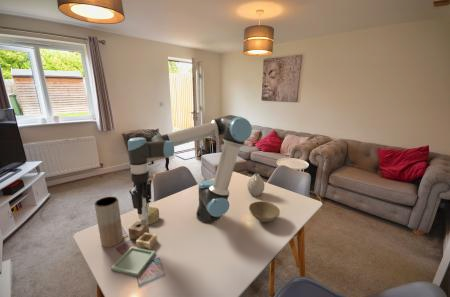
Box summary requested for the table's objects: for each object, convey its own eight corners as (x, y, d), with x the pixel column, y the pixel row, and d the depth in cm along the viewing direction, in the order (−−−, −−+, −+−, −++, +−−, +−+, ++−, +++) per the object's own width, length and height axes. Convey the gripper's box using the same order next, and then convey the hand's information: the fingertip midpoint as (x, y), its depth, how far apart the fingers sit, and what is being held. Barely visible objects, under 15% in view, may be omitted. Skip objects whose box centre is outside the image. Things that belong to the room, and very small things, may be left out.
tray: (155, 253, 96) (155, 251, 95) (137, 276, 83) (137, 273, 83) (131, 248, 99) (131, 246, 98) (111, 270, 86) (110, 267, 86)
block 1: (149, 232, 111) (148, 222, 109) (141, 240, 104) (140, 230, 103) (138, 230, 112) (137, 220, 111) (129, 238, 106) (128, 228, 104)
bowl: (284, 220, 123) (285, 208, 121) (268, 234, 110) (269, 221, 108) (259, 208, 135) (259, 197, 133) (242, 220, 122) (242, 208, 120)
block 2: (157, 241, 104) (156, 234, 103) (149, 250, 98) (148, 243, 97) (145, 238, 106) (144, 232, 105) (136, 248, 99) (135, 241, 98)
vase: (265, 198, 148) (266, 177, 144) (247, 198, 149) (248, 177, 144) (262, 191, 161) (263, 171, 157) (246, 190, 161) (247, 171, 157)
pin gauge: (149, 222, 100) (146, 196, 96) (145, 226, 97) (143, 200, 93) (144, 221, 100) (141, 196, 97) (140, 225, 98) (137, 199, 94)
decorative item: (149, 230, 118) (157, 219, 115) (136, 220, 118) (144, 208, 115) (157, 221, 127) (165, 211, 124) (145, 211, 127) (153, 201, 124)
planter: (108, 233, 109) (102, 195, 103) (126, 234, 109) (121, 196, 103) (96, 247, 99) (89, 206, 94) (116, 247, 99) (110, 206, 93)
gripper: (143, 165, 100) (147, 207, 106) (119, 177, 85) (126, 225, 91) (156, 166, 99) (160, 209, 104) (135, 179, 83) (140, 228, 89)
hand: (144, 216), depth 98 cm, fingers closed on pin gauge, 3 cm apart
